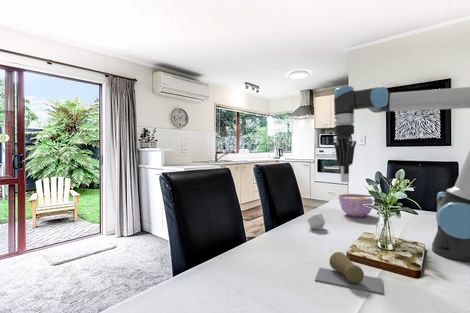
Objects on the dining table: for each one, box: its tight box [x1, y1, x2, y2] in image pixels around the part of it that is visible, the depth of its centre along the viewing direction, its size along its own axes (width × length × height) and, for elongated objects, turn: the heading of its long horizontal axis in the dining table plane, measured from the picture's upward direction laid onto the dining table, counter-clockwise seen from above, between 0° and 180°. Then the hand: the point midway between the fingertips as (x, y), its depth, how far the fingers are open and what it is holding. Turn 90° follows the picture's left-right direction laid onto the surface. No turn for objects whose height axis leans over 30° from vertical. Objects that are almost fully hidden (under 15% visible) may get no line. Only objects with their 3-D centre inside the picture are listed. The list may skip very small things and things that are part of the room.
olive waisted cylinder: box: [329, 251, 365, 284], centre depth 80 cm, size 6×6×11 cm
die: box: [307, 212, 326, 231], centre depth 132 cm, size 8×9×10 cm
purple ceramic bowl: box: [338, 193, 374, 218], centre depth 158 cm, size 20×20×12 cm
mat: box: [314, 267, 384, 296], centre depth 78 cm, size 18×9×1 cm, turn 63°
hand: (344, 181), depth 108 cm, fingers closed
